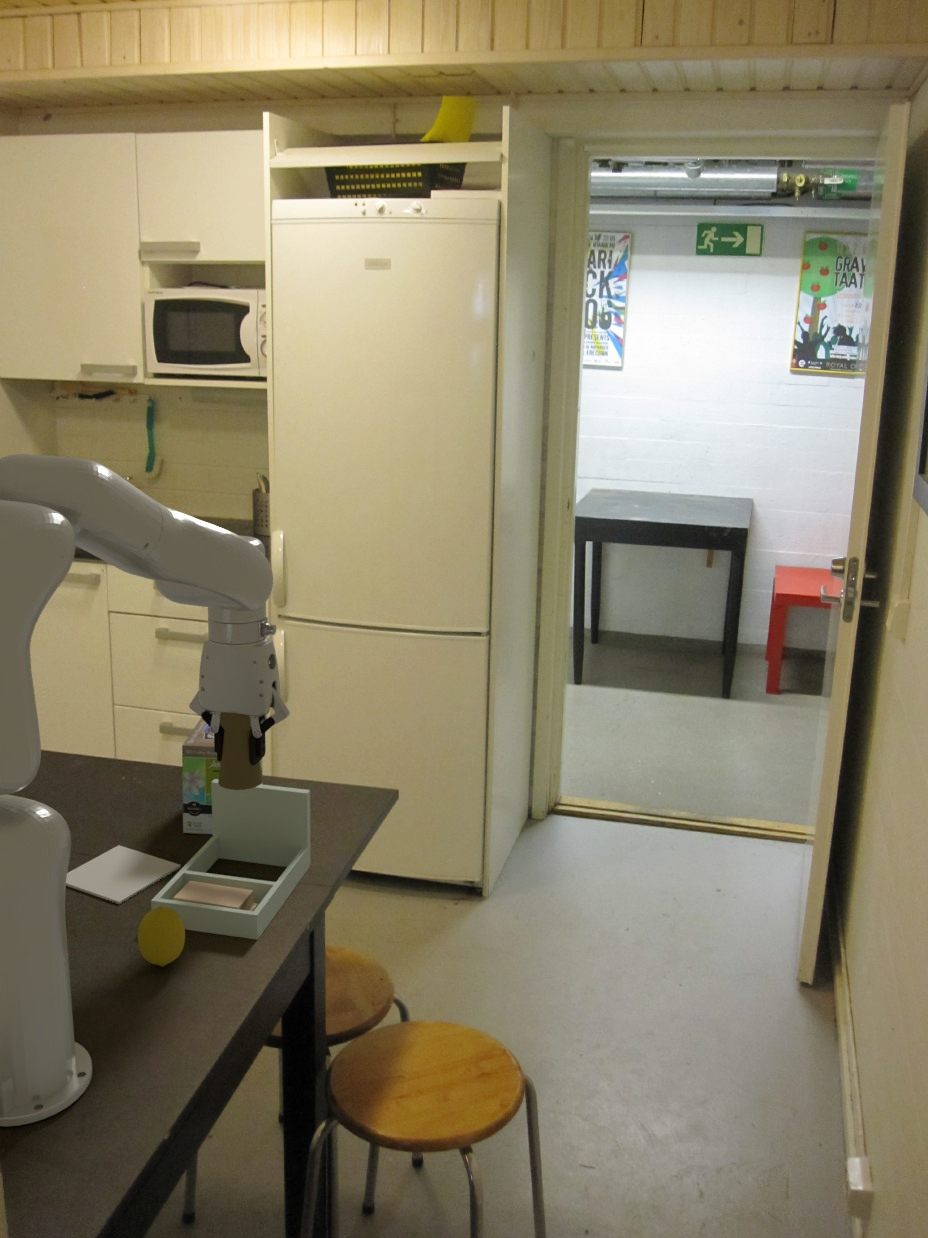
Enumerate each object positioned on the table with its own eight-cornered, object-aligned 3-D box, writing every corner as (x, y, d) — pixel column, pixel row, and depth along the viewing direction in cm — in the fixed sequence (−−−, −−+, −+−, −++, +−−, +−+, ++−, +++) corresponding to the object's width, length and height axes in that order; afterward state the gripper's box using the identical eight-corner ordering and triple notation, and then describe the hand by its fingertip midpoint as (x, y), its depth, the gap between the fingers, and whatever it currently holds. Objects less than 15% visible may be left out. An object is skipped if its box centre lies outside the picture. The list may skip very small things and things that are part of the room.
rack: (257, 940, 138) (255, 854, 134) (152, 924, 140) (148, 841, 137) (310, 866, 157) (310, 790, 154) (217, 853, 160) (214, 779, 156)
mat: (119, 904, 145) (119, 902, 145) (55, 882, 150) (55, 879, 150) (180, 867, 155) (180, 865, 155) (118, 847, 160) (118, 845, 160)
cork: (209, 786, 145) (207, 709, 142) (231, 770, 151) (230, 695, 148) (250, 792, 143) (248, 715, 141) (270, 776, 149) (269, 701, 146)
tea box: (247, 836, 165) (245, 747, 161) (181, 835, 165) (178, 745, 161) (264, 796, 180) (262, 712, 176) (204, 794, 180) (201, 711, 176)
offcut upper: (238, 921, 139) (238, 907, 138) (174, 911, 141) (173, 897, 140) (253, 904, 143) (253, 890, 142) (190, 894, 145) (190, 880, 144)
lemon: (137, 957, 133) (134, 899, 131) (183, 950, 135) (181, 893, 133) (141, 982, 128) (138, 922, 126) (188, 974, 130) (186, 915, 128)
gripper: (307, 628, 144) (308, 756, 148) (190, 618, 147) (195, 743, 151) (287, 643, 137) (288, 777, 141) (165, 632, 140) (170, 763, 144)
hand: (240, 758), depth 146 cm, fingers closed on cork, 4 cm apart
